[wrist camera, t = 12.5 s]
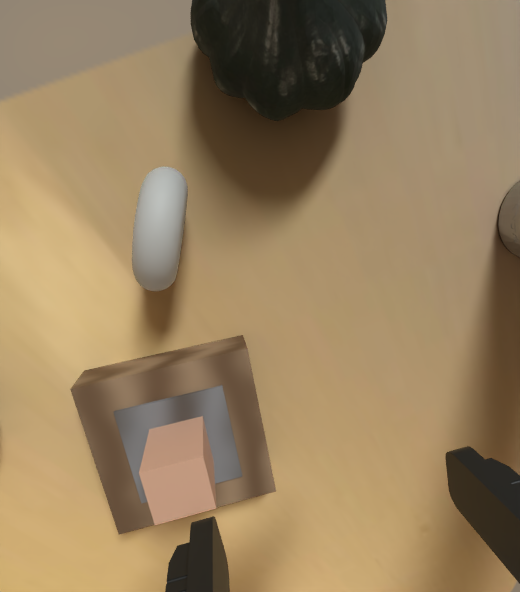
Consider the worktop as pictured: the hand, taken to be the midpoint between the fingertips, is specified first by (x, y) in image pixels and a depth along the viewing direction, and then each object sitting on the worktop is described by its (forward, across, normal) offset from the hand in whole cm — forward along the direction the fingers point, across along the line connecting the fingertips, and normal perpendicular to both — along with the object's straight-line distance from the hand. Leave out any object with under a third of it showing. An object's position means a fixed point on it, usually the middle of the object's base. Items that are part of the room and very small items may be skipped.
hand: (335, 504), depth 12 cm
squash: (+27, -7, -23) cm, 36 cm away
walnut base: (+26, +10, +10) cm, 30 cm away
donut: (+26, +6, -10) cm, 29 cm away
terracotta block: (+22, +10, +10) cm, 26 cm away
